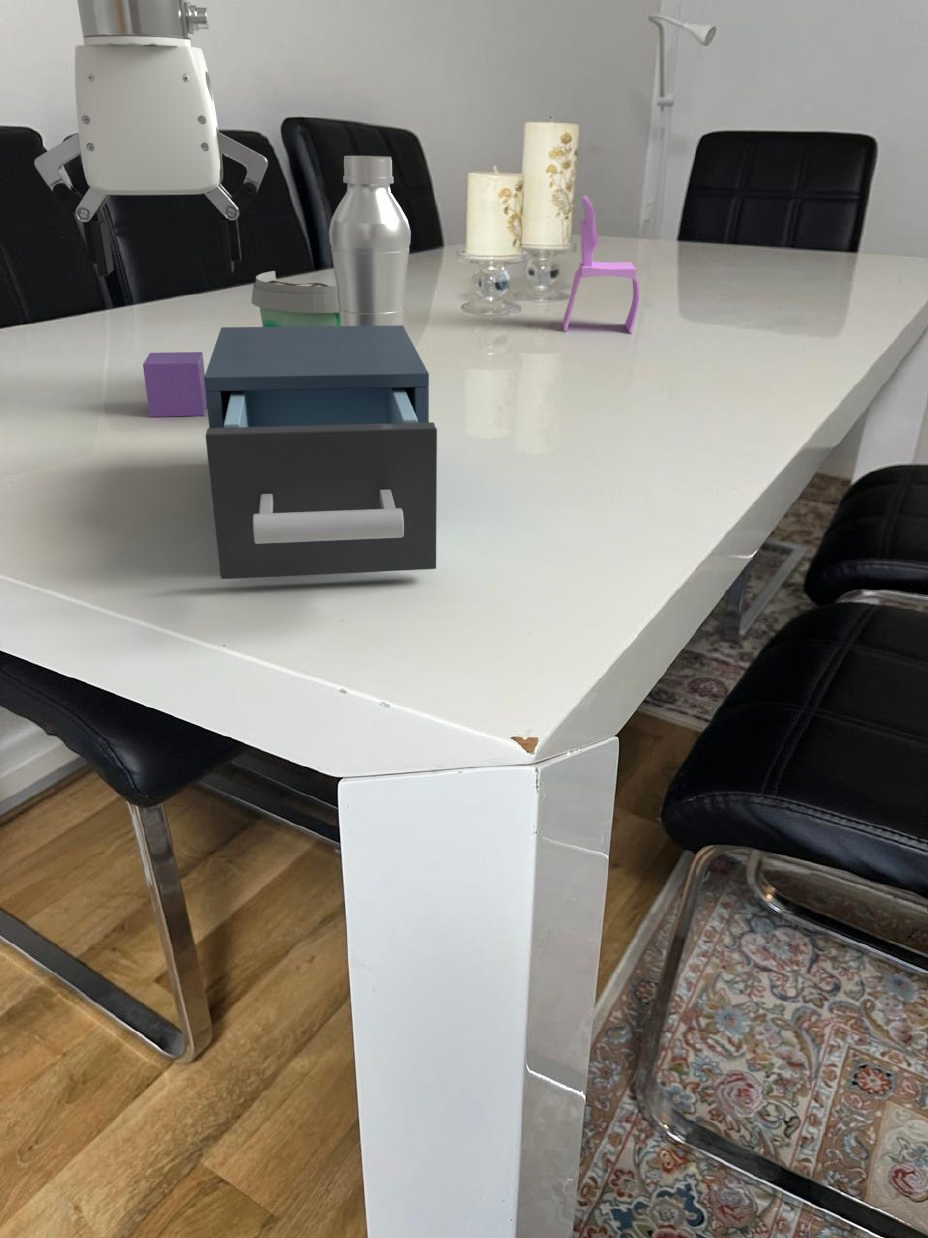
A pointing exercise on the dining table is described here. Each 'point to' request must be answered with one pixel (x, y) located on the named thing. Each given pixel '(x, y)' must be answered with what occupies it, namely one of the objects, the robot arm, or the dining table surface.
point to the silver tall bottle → (369, 246)
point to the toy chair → (599, 266)
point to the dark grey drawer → (323, 483)
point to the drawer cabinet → (314, 363)
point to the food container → (295, 303)
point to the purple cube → (175, 384)
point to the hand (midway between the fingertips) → (168, 272)
